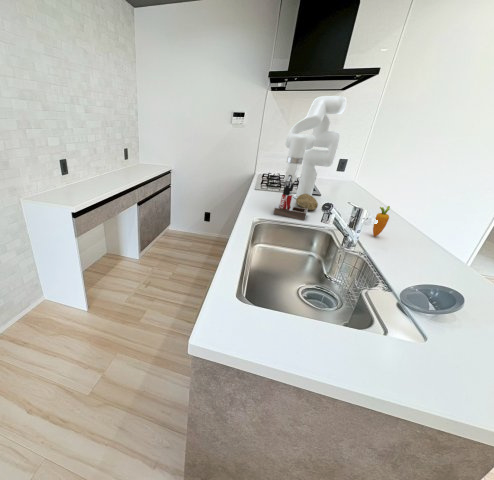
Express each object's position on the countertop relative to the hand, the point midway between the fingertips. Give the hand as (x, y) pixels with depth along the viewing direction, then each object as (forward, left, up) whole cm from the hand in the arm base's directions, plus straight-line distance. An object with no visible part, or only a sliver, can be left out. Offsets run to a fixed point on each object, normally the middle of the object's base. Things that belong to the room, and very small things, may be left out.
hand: (287, 192), depth 141 cm
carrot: (+8, +43, -12) cm, 45 cm away
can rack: (0, +4, -12) cm, 13 cm away
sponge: (-21, +10, -12) cm, 27 cm away
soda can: (0, 0, -12) cm, 12 cm away
